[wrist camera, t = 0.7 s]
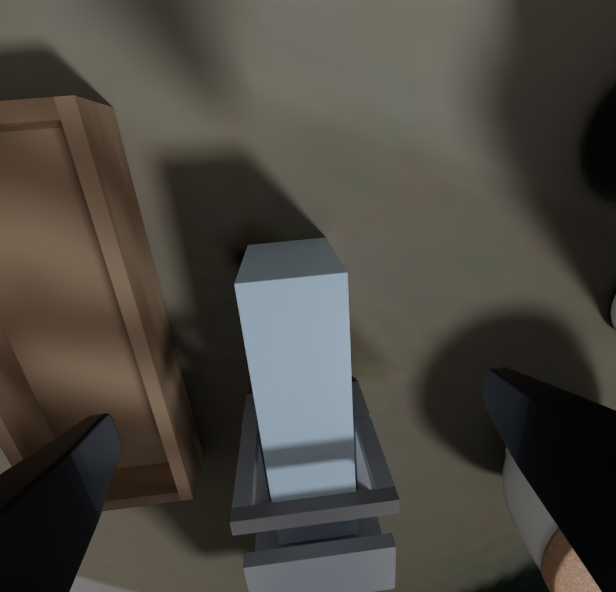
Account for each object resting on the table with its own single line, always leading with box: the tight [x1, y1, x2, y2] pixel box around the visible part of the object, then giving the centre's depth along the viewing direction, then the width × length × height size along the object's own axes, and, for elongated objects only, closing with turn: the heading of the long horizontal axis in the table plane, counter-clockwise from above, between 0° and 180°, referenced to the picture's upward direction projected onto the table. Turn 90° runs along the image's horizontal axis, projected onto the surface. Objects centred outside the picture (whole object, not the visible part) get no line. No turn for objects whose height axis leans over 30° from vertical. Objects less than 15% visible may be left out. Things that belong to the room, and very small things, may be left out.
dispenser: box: [230, 381, 400, 592], centre depth 18 cm, size 6×7×8 cm
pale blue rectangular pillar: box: [234, 238, 357, 545], centre depth 17 cm, size 14×4×6 cm, turn 5°
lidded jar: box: [502, 447, 602, 592], centre depth 20 cm, size 11×11×9 cm
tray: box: [0, 95, 204, 511], centre depth 17 cm, size 20×8×3 cm, turn 5°
